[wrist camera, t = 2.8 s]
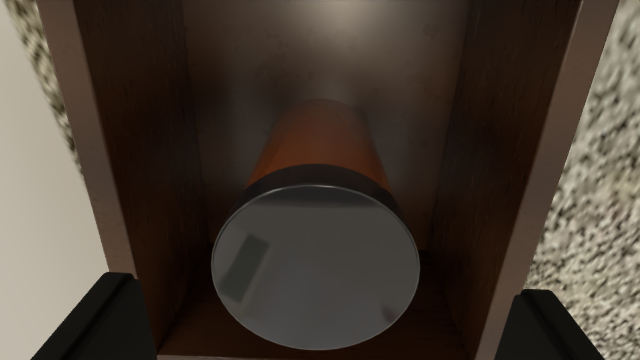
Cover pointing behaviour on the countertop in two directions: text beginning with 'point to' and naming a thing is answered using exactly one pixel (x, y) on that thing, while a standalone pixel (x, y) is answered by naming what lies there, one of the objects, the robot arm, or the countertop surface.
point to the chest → (346, 87)
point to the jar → (316, 235)
